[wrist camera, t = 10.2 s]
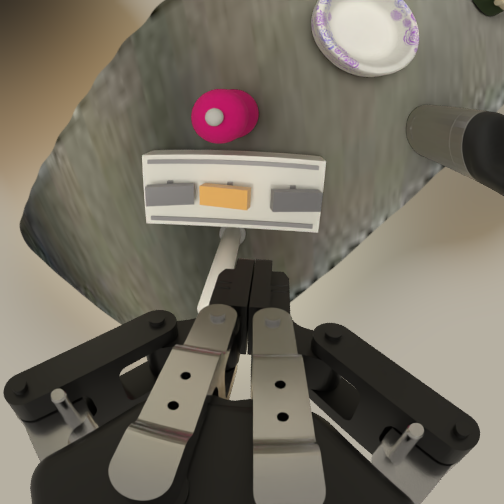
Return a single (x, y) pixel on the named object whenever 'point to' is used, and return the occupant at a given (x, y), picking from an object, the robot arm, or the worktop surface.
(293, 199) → the paddle
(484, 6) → the character mug
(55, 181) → the worktop surface
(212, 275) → the post
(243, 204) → the block
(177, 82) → the worktop surface
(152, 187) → the paddle
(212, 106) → the pepper mill
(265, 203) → the breaker panel
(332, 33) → the paper bowls
